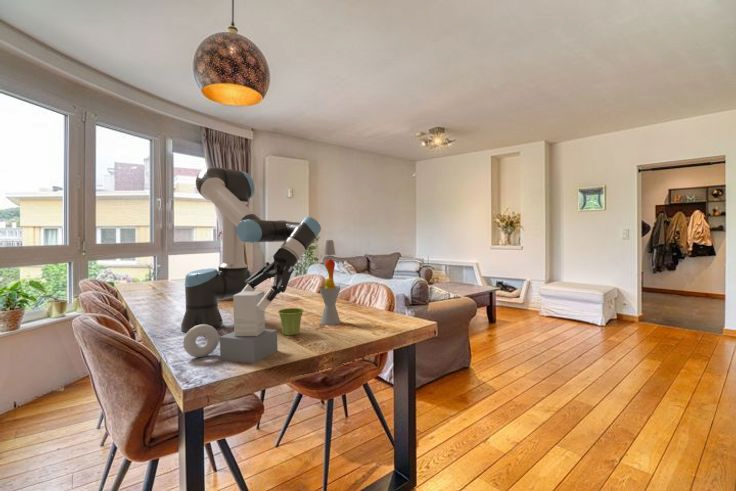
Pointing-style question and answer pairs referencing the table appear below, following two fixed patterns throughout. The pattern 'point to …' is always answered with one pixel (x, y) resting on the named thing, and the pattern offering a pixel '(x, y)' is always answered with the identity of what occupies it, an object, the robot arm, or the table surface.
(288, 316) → the plant pot
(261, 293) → the supplement box
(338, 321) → the lava lamp
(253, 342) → the slate block
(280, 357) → the table surface
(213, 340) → the donut
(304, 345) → the table surface
